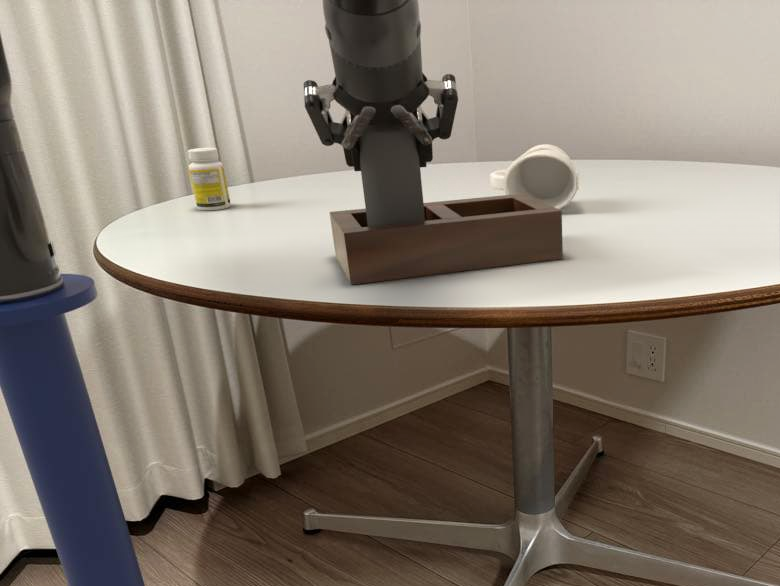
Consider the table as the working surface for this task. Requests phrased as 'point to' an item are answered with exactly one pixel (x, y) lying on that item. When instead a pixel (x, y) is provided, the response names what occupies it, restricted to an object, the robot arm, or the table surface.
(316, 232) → the table surface
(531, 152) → the mug
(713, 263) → the table surface
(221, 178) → the supplement bottle
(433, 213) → the box
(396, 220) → the bottle
